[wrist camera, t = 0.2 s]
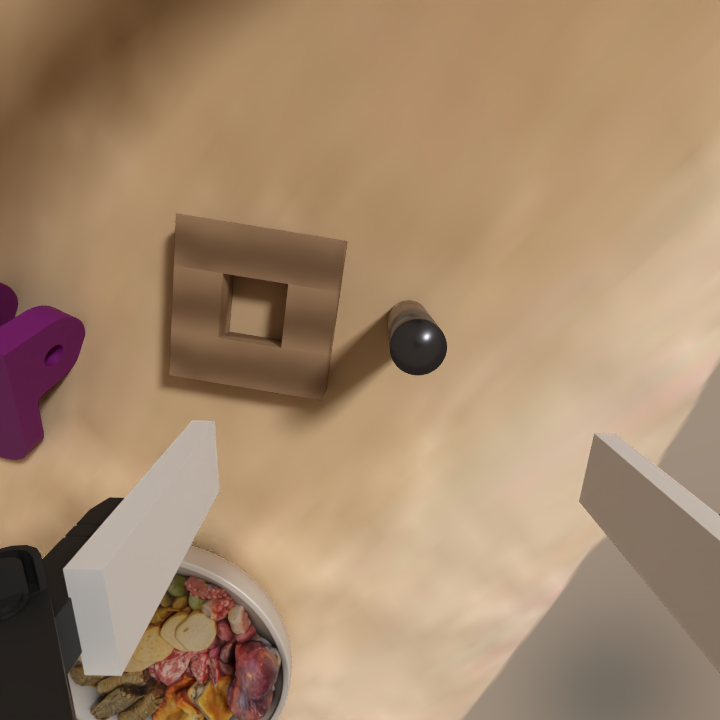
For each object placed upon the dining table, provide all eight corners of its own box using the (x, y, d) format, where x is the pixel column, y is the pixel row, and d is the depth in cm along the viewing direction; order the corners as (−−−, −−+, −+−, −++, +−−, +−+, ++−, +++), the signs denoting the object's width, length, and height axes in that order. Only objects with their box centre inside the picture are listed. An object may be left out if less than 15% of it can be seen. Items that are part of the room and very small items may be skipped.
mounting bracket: (90, 415, 53) (83, 302, 41) (32, 471, 46) (4, 356, 34) (15, 381, 52) (-14, 256, 40) (-55, 433, 45) (-114, 302, 33)
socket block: (190, 216, 40) (176, 213, 37) (347, 241, 40) (344, 240, 37) (183, 366, 44) (169, 375, 41) (326, 390, 44) (322, 400, 41)
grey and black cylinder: (391, 297, 41) (395, 315, 29) (432, 304, 41) (452, 325, 29) (384, 337, 42) (385, 370, 30) (424, 343, 42) (440, 379, 30)
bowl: (98, 725, 58) (55, 797, 50) (29, 535, 50) (-33, 586, 43) (314, 716, 55) (304, 790, 48) (275, 515, 48) (255, 565, 40)
